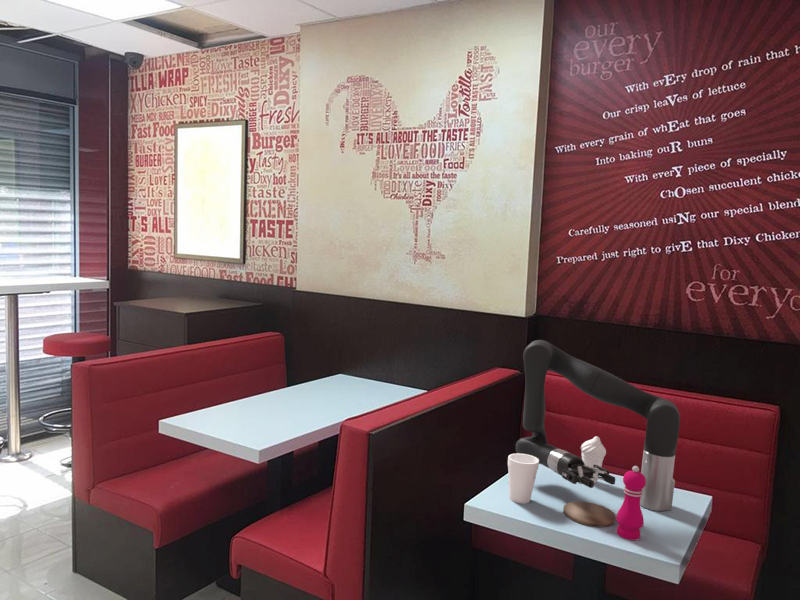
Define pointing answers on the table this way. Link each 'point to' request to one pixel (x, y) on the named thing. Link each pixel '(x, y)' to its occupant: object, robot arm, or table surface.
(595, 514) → the walnut board
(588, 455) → the soft serve ice cream cone
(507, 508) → the table surface
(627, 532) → the pepper mill
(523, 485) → the foam cup
